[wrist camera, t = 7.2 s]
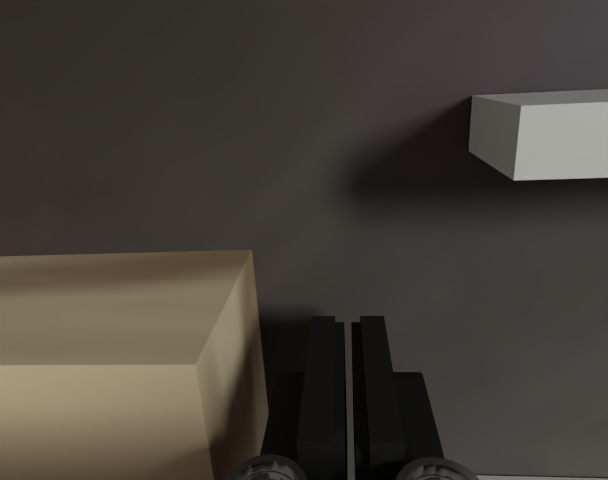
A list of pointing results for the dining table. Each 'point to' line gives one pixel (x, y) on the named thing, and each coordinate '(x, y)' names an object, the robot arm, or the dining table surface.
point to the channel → (542, 145)
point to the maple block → (130, 366)
